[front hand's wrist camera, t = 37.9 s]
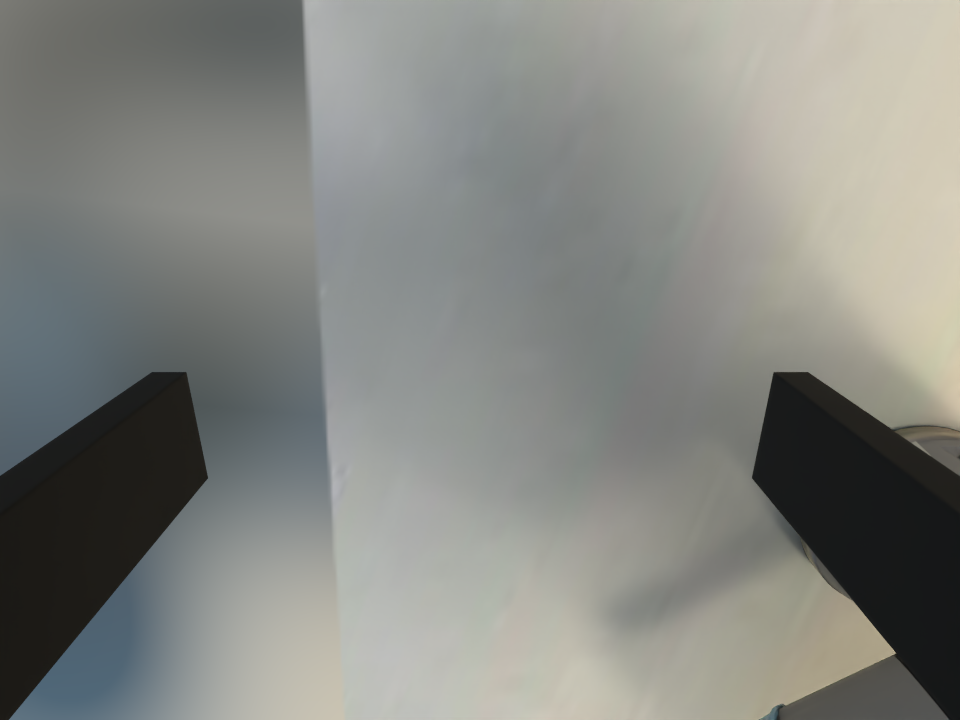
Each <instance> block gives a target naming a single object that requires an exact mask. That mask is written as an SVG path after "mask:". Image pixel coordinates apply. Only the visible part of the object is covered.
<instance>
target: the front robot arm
mask: <svg viewBox="0 0 960 720" xmlns="http://www.w3.org/2000/svg"><path fill="white" fill-rule="evenodd" d="M207 479H208V476H207V471H206V466H205V461H204V456H203V451H202V446H201V442H200V437H199V432H198V427H197V422H196V417H195V413H194V407H193V403H192V398H191V393H190V388H189V383H188V378H187V373H186V372H152V373H150V374H149V375H147V376H146V377H144V378H143V379H141V380H140V381H138V382H137V383H136V384H134V385H133V386H131V387H130V388H128V389H127V390H125V391H124V392H122V393H121V394H119V395H118V396H117V397H115V398H114V399H112V400H111V401H109V402H108V403H106V404H105V405H103V406H102V407H100V408H99V409H98V410H96V411H95V412H93V413H92V414H90V415H89V416H87V417H86V418H84V419H83V420H81V421H80V422H78V423H77V424H76V425H74V426H73V427H71V428H70V429H68V430H67V431H65V432H64V433H62V434H61V435H59V436H58V437H57V438H55V439H54V440H52V441H51V442H49V443H48V444H46V445H45V446H43V447H42V448H40V449H39V450H38V451H36V452H35V453H33V454H32V455H30V456H29V457H27V458H26V459H24V460H23V461H21V462H20V463H18V464H17V465H16V466H14V467H13V468H11V469H10V470H8V471H7V472H5V473H4V474H2V475H1V476H0V720H9V719H10V718H11V716H12V715H13V714H14V713H15V712H16V710H17V709H18V708H19V707H20V705H21V704H22V703H23V702H24V701H25V699H26V698H27V697H28V696H29V695H30V693H31V692H32V691H33V690H34V689H35V687H36V686H37V685H38V684H39V682H40V681H41V680H42V679H43V678H44V676H45V675H46V674H47V673H48V672H49V670H50V669H51V668H52V667H53V665H54V664H55V663H56V662H57V661H58V659H59V658H60V657H61V656H62V655H63V653H64V652H65V651H66V650H67V648H68V647H69V646H70V645H71V644H72V642H73V641H74V640H75V639H76V637H77V636H78V635H79V634H80V633H81V631H82V630H83V629H84V628H85V627H86V625H87V624H88V623H89V622H90V621H91V619H92V618H93V617H94V616H95V615H96V613H97V612H98V611H99V610H100V608H101V607H102V606H103V605H104V604H105V602H106V601H107V600H108V599H109V598H110V596H111V595H112V594H113V593H114V591H115V590H116V589H117V588H118V587H119V585H120V584H121V583H122V582H123V581H124V579H125V578H126V577H127V576H128V574H129V573H130V572H131V571H132V570H133V568H134V567H135V566H136V565H137V563H138V562H139V561H140V560H141V559H142V558H143V556H144V555H145V554H146V553H147V551H148V550H149V549H150V548H151V547H152V545H153V544H154V543H155V542H156V541H157V539H158V538H159V537H160V536H161V534H162V533H163V532H164V531H165V530H166V528H167V527H168V526H169V525H170V523H171V522H172V521H173V520H174V519H175V517H176V516H177V515H178V514H179V513H180V511H181V510H182V509H183V508H184V507H185V505H186V504H187V503H188V502H189V500H190V499H191V498H192V497H193V496H194V494H195V493H196V492H197V491H198V489H199V488H200V487H201V486H202V485H203V484H204V482H205V481H206V480H207ZM752 479H753V480H754V481H755V482H756V484H757V485H758V486H759V487H760V488H761V490H762V491H763V492H764V493H765V494H766V496H767V497H768V498H769V499H770V500H771V502H772V503H773V504H774V505H775V507H776V508H777V509H778V510H779V511H780V513H781V514H782V515H783V516H784V517H785V519H786V520H787V521H788V522H789V524H790V525H791V526H792V527H793V528H794V530H795V531H796V532H797V533H798V534H799V536H800V537H801V542H802V545H803V548H804V551H805V553H806V555H807V557H808V559H809V560H810V562H811V563H812V564H813V565H814V567H815V568H816V569H817V570H818V572H819V573H820V574H821V575H822V577H823V578H824V579H825V580H826V581H827V583H828V584H829V585H831V586H832V587H833V588H834V589H835V590H837V591H838V592H840V593H841V594H843V595H844V596H846V597H848V598H849V599H851V600H852V601H854V602H855V604H856V605H857V606H858V607H859V608H860V610H861V611H862V612H863V613H864V615H865V616H866V617H867V618H868V619H869V621H870V622H871V623H872V624H873V625H874V627H875V628H876V629H877V630H878V631H879V633H880V634H881V635H882V636H883V638H884V639H885V640H886V641H887V642H888V644H889V645H890V646H891V647H892V648H893V650H894V651H895V652H896V653H897V654H895V655H892V656H890V657H888V658H886V659H884V660H882V661H879V662H877V663H875V664H873V665H871V666H869V667H867V668H865V669H863V670H860V671H858V672H856V673H854V674H852V675H850V676H848V677H846V678H844V679H841V680H839V681H837V682H835V683H833V684H831V685H829V686H827V687H825V688H822V689H820V690H818V691H816V692H814V693H812V694H810V695H808V696H806V697H803V698H801V699H799V700H797V701H795V702H793V703H791V704H789V705H786V706H785V705H784V704H780V705H777V706H775V707H774V708H773V709H772V710H771V713H770V714H768V715H766V716H765V717H763V718H761V719H759V720H960V432H959V431H956V430H952V429H948V428H941V427H913V428H905V429H901V430H896V431H893V430H892V429H890V428H889V427H887V426H886V425H884V424H883V423H882V422H880V421H879V420H877V419H876V418H874V417H873V416H871V415H870V414H868V413H867V412H865V411H864V410H862V409H861V408H860V407H858V406H857V405H855V404H854V403H852V402H851V401H849V400H848V399H846V398H845V397H843V396H842V395H841V394H839V393H838V392H836V391H835V390H833V389H832V388H830V387H829V386H827V385H826V384H824V383H823V382H822V381H820V380H819V379H817V378H816V377H814V376H813V375H811V374H810V373H808V372H774V373H773V378H772V383H771V388H770V393H769V398H768V403H767V407H766V412H765V417H764V422H763V427H762V432H761V437H760V442H759V446H758V451H757V456H756V461H755V466H754V471H753V476H752Z"/></svg>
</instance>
